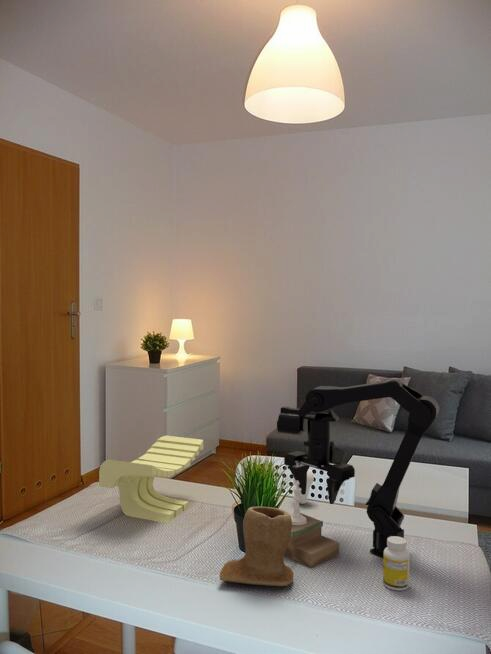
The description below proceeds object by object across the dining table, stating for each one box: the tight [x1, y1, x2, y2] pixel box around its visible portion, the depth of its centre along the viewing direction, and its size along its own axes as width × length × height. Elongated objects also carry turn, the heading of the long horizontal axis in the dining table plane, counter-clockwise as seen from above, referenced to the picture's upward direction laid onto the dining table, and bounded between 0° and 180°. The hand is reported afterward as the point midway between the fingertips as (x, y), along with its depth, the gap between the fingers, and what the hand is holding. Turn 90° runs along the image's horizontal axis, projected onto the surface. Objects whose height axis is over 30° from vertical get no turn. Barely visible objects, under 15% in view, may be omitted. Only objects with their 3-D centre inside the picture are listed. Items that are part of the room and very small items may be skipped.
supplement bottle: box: [382, 536, 411, 592], centre depth 121 cm, size 5×5×10 cm
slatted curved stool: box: [98, 435, 204, 524], centre depth 162 cm, size 30×16×18 cm, turn 159°
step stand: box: [284, 512, 340, 568], centre depth 136 cm, size 13×10×6 cm
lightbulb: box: [292, 468, 315, 505], centre depth 169 cm, size 6×6×11 cm
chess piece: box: [289, 480, 307, 525], centre depth 138 cm, size 5×5×10 cm
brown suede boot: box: [219, 506, 295, 587], centre depth 123 cm, size 15×12×15 cm
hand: (317, 498), depth 143 cm, fingers open, 9 cm apart
